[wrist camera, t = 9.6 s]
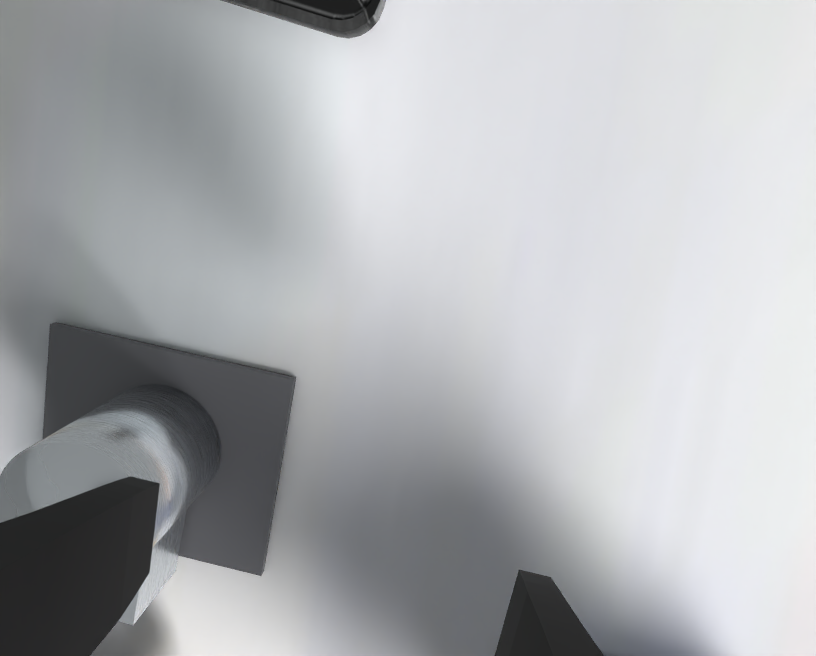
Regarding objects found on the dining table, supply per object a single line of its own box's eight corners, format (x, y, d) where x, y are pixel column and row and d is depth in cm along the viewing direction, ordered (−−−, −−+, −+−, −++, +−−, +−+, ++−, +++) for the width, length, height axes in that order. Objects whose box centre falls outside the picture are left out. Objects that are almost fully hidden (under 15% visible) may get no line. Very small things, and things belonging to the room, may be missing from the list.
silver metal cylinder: (231, 403, 22) (159, 468, 17) (199, 571, 23) (124, 676, 18) (109, 369, 22) (1, 423, 17) (86, 538, 24) (-20, 633, 18)
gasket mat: (295, 377, 22) (293, 380, 21) (263, 571, 23) (261, 575, 23) (55, 322, 22) (50, 324, 22) (43, 516, 24) (37, 520, 24)
